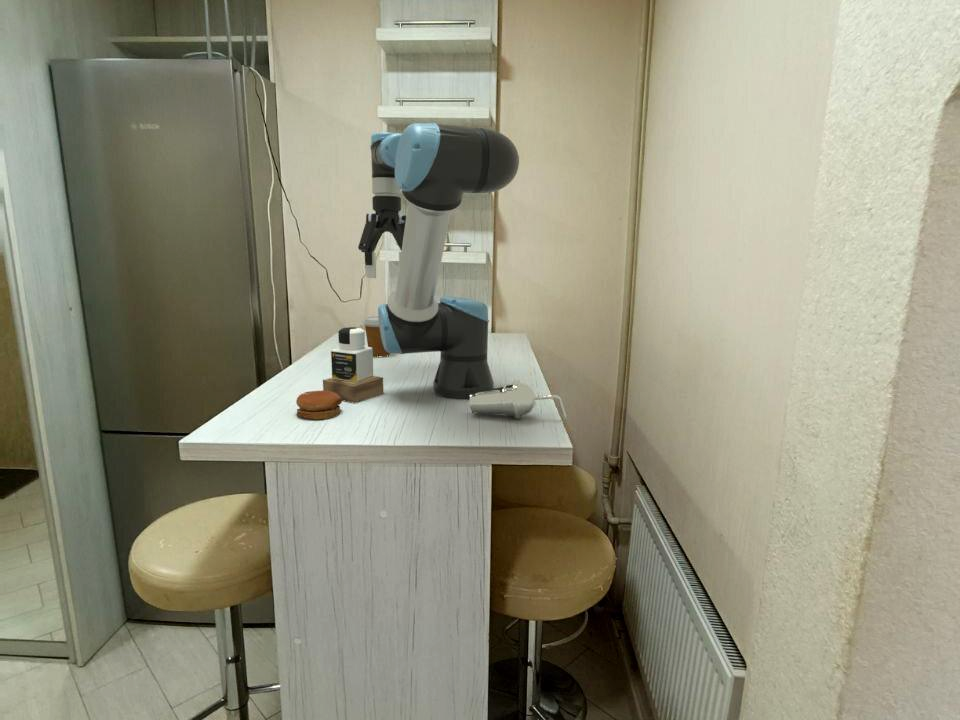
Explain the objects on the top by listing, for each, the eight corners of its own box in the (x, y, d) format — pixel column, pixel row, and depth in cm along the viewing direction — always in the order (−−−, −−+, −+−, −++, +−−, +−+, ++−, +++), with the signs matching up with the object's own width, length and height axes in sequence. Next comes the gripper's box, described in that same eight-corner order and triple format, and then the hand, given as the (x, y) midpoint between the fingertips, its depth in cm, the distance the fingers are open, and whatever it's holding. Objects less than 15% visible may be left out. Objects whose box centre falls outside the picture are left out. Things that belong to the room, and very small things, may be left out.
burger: (333, 421, 116) (332, 400, 115) (289, 420, 116) (288, 399, 115) (347, 407, 125) (346, 387, 124) (306, 406, 126) (305, 386, 125)
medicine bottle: (331, 379, 132) (329, 329, 129) (349, 372, 138) (348, 325, 136) (356, 382, 129) (354, 331, 127) (374, 376, 136) (372, 327, 133)
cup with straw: (475, 384, 126) (564, 377, 121) (477, 424, 125) (567, 419, 120) (466, 382, 117) (561, 374, 113) (468, 425, 116) (564, 419, 112)
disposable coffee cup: (388, 359, 174) (387, 321, 171) (359, 357, 175) (358, 319, 173) (398, 353, 183) (397, 316, 180) (371, 351, 184) (370, 315, 182)
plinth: (383, 393, 136) (383, 376, 135) (354, 403, 128) (354, 385, 127) (353, 387, 141) (352, 370, 140) (323, 396, 133) (322, 379, 132)
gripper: (405, 199, 160) (405, 273, 164) (342, 192, 139) (345, 278, 143) (426, 198, 156) (426, 274, 161) (364, 191, 135) (367, 279, 140)
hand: (388, 276), depth 152 cm, fingers open, 13 cm apart
